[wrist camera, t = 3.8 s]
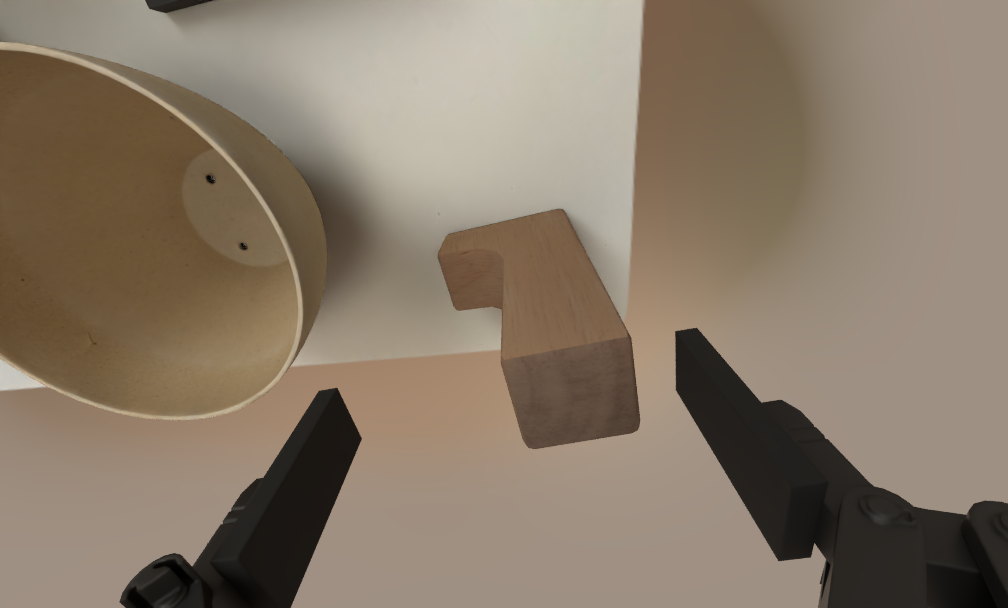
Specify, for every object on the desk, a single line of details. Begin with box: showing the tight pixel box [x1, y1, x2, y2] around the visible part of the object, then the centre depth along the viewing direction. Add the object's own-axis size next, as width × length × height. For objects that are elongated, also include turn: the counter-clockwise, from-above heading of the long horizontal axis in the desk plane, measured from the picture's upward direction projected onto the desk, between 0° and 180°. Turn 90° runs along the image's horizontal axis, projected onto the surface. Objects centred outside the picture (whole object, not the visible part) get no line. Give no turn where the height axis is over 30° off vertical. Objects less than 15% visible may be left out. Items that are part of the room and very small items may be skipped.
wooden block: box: [438, 209, 640, 449], centre depth 22 cm, size 9×4×18 cm, turn 103°
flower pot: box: [0, 42, 327, 420], centre depth 24 cm, size 18×18×12 cm
